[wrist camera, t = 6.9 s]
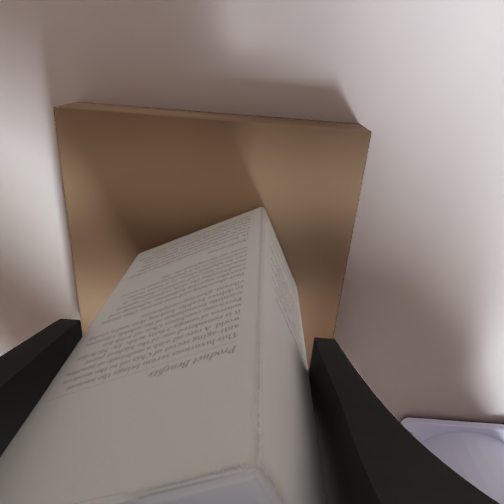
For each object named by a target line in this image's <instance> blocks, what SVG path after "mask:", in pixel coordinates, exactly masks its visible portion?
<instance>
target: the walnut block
mask: <svg viewBox="0 0 504 504" xmlns="http://www.w3.org/2000/svg"><path fill="white" fill-rule="evenodd" d="M54 115H55V122H56V130H57V138H58V146H59V153H60V161H61V169H62V177H63V185H64V192H65V200H66V208H67V216H68V223H69V231H70V239H71V247H72V255H73V262H74V270H75V278H76V286H77V293H78V301H79V309H80V317H81V325H82V332H83V335H84V334H85V332H86V331H87V329H88V328H89V326H90V325H91V324H92V322H93V321H94V319H95V318H96V316H97V315H98V313H99V312H100V310H101V309H102V307H103V306H104V304H105V303H106V301H107V300H108V298H109V297H110V295H111V294H112V292H113V291H114V289H115V288H116V286H117V285H118V283H119V282H120V280H121V279H122V277H123V276H124V275H125V273H126V272H127V270H128V269H129V267H130V266H131V264H132V263H133V261H134V260H135V258H136V257H137V255H138V254H140V253H141V252H144V251H147V250H150V249H152V248H155V247H157V246H160V245H163V244H165V243H168V242H171V241H173V240H176V239H178V238H181V237H183V236H186V235H189V234H191V233H194V232H196V231H199V230H201V229H204V228H207V227H209V226H212V225H214V224H217V223H220V222H222V221H225V220H228V219H230V218H233V217H235V216H238V215H241V214H243V213H246V212H249V211H251V210H254V209H256V208H259V207H264V208H265V210H266V212H267V214H268V217H269V219H270V222H271V224H272V227H273V229H274V231H275V234H276V236H277V239H278V241H279V244H280V246H281V249H282V251H283V254H284V256H285V259H286V261H287V264H288V266H289V269H290V271H291V274H292V276H293V278H294V280H295V283H296V285H297V290H298V298H299V305H300V313H301V320H302V328H303V335H304V342H305V349H306V357H307V365H308V372H309V367H310V361H311V355H312V348H313V342H314V337H316V338H330V339H333V334H334V329H335V323H336V318H337V313H338V307H339V302H340V297H341V291H342V286H343V281H344V275H345V270H346V265H347V259H348V254H349V249H350V244H351V238H352V233H353V228H354V222H355V217H356V212H357V206H358V201H359V196H360V190H361V185H362V180H363V174H364V169H365V164H366V158H367V153H368V148H369V142H370V137H371V131H369V130H368V129H366V128H365V127H363V126H362V125H360V124H355V123H342V122H329V121H316V120H303V119H290V118H277V117H264V116H251V115H238V114H225V113H212V112H199V111H186V110H173V109H160V108H147V107H134V106H121V105H108V104H95V103H82V102H77V103H72V104H67V105H62V106H58V107H54Z"/></svg>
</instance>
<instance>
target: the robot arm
mask: <svg viewBox="0 0 504 504" xmlns="http://www.w3.org/2000/svg"><path fill="white" fill-rule="evenodd" d="M82 337H83V336H82V329H81V322H80V320H69V319H60V320H58V321H56V322H55V323H53V324H51V325H50V326H48V327H46V328H45V329H43V330H42V331H40V332H39V333H37V334H35V335H34V336H32V337H31V338H29V339H28V340H26V341H24V342H23V343H21V344H20V345H18V346H17V347H15V348H13V349H12V350H10V351H9V352H7V353H5V354H4V355H2V356H1V357H0V457H1V455H2V454H3V452H4V451H5V449H6V448H7V447H8V445H9V444H10V442H11V441H12V439H13V438H14V436H15V435H16V433H17V432H18V431H19V429H20V428H21V426H22V425H23V423H24V422H25V420H26V419H27V418H28V416H29V415H30V413H31V412H32V410H33V409H34V407H35V406H36V405H37V403H38V402H39V400H40V399H41V397H42V396H43V394H44V393H45V391H46V390H47V388H48V387H49V385H50V384H51V382H52V381H53V379H54V378H55V376H56V375H57V374H58V372H59V371H60V369H61V368H62V366H63V365H64V363H65V362H66V360H67V359H68V357H69V356H70V354H71V353H72V351H73V350H74V349H75V347H76V346H77V344H78V342H79V341H80V340H81V338H82ZM309 379H310V387H311V396H312V402H313V409H314V417H315V424H316V431H317V438H318V446H319V453H320V459H321V467H322V475H323V483H324V490H325V497H326V504H504V424H492V423H478V422H464V421H451V420H437V419H423V418H405V419H403V420H402V421H401V423H400V422H399V421H398V420H397V419H396V418H395V417H394V416H393V415H392V414H391V413H390V412H389V411H388V410H387V408H386V407H385V406H384V405H383V404H382V403H381V401H380V400H379V399H378V398H377V397H376V395H375V394H374V393H373V392H372V391H371V389H370V388H369V387H368V385H367V384H366V383H365V382H364V380H363V379H362V378H361V376H360V375H359V374H358V372H357V371H356V370H355V368H354V367H353V365H352V364H351V362H350V361H349V360H348V358H347V357H346V355H345V354H344V352H343V351H342V349H341V348H340V346H339V345H338V343H337V342H336V341H335V339H330V338H316V337H314V342H313V348H312V355H311V361H310V367H309Z"/></svg>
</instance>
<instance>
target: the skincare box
mask: <svg viewBox="0 0 504 504" xmlns="http://www.w3.org/2000/svg"><path fill="white" fill-rule="evenodd" d="M0 504H326V497H325V490H324V483H323V475H322V467H321V459H320V453H319V446H318V438H317V431H316V424H315V417H314V409H313V402H312V396H311V387H310V379H309V372H308V365H307V357H306V349H305V342H304V335H303V328H302V320H301V313H300V305H299V298H298V290H297V285H296V283H295V280H294V278H293V276H292V274H291V271H290V269H289V266H288V264H287V261H286V259H285V256H284V254H283V251H282V249H281V246H280V244H279V241H278V239H277V236H276V234H275V231H274V229H273V227H272V224H271V222H270V219H269V217H268V214H267V212H266V210H265V208H264V207H259V208H256V209H254V210H251V211H249V212H246V213H243V214H241V215H238V216H235V217H233V218H230V219H228V220H225V221H222V222H220V223H217V224H214V225H212V226H209V227H207V228H204V229H201V230H199V231H196V232H194V233H191V234H189V235H186V236H183V237H181V238H178V239H176V240H173V241H171V242H168V243H165V244H163V245H160V246H157V247H155V248H152V249H150V250H147V251H144V252H141V253H140V254H138V255H137V257H136V258H135V260H134V261H133V263H132V264H131V266H130V267H129V269H128V270H127V272H126V273H125V275H124V276H123V277H122V279H121V280H120V282H119V283H118V285H117V286H116V288H115V289H114V291H113V292H112V294H111V295H110V297H109V298H108V300H107V301H106V303H105V304H104V306H103V307H102V309H101V310H100V312H99V313H98V315H97V316H96V318H95V319H94V321H93V322H92V324H91V325H90V326H89V328H88V329H87V331H86V332H85V334H84V335H83V337H82V338H81V340H80V341H79V342H78V344H77V346H76V347H75V349H74V350H73V351H72V353H71V354H70V356H69V357H68V359H67V360H66V362H65V363H64V365H63V366H62V368H61V369H60V371H59V372H58V374H57V375H56V376H55V378H54V379H53V381H52V382H51V384H50V385H49V387H48V388H47V390H46V391H45V393H44V394H43V396H42V397H41V399H40V400H39V402H38V403H37V405H36V406H35V407H34V409H33V410H32V412H31V413H30V415H29V416H28V418H27V419H26V420H25V422H24V423H23V425H22V426H21V428H20V429H19V431H18V432H17V433H16V435H15V436H14V438H13V439H12V441H11V442H10V444H9V445H8V447H7V448H6V449H5V451H4V452H3V454H2V455H1V457H0Z"/></svg>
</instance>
